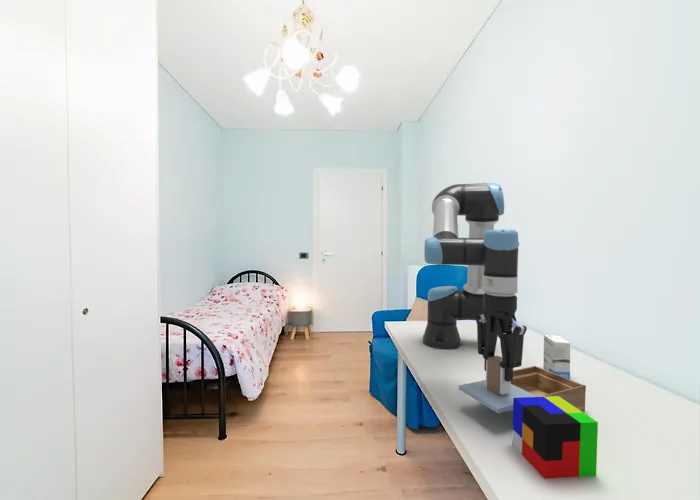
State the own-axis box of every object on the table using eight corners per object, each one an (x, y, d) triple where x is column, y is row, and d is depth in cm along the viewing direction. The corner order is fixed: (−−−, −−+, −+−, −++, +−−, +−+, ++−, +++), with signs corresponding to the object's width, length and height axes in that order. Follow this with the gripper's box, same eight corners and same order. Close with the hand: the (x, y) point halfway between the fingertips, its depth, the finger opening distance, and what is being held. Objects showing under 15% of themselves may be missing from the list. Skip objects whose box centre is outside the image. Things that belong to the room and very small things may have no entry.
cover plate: (458, 389, 84) (459, 354, 83) (497, 380, 89) (498, 347, 89) (498, 413, 72) (498, 372, 72) (539, 401, 77) (540, 364, 77)
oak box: (498, 396, 90) (498, 373, 90) (534, 388, 96) (534, 365, 96) (546, 423, 77) (547, 395, 77) (584, 411, 83) (585, 385, 83)
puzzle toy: (512, 444, 69) (513, 397, 69) (557, 442, 70) (558, 396, 70) (544, 479, 59) (545, 424, 59) (596, 476, 60) (597, 422, 60)
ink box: (570, 381, 101) (571, 343, 100) (552, 379, 102) (553, 341, 101) (558, 370, 109) (559, 335, 109) (542, 369, 110) (543, 334, 110)
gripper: (463, 289, 86) (461, 378, 87) (518, 300, 71) (515, 408, 71) (485, 287, 89) (483, 374, 90) (542, 298, 74) (539, 402, 74)
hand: (497, 389), depth 80 cm, fingers closed on cover plate, 3 cm apart
